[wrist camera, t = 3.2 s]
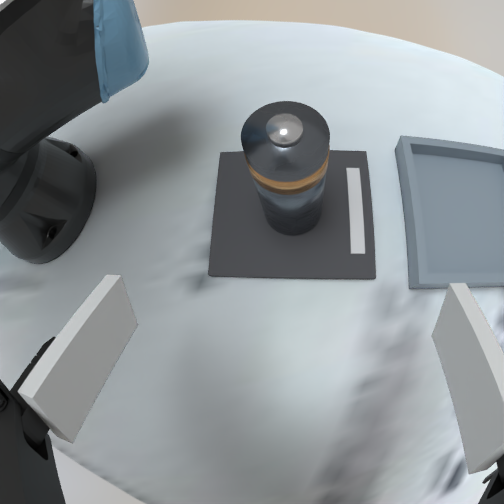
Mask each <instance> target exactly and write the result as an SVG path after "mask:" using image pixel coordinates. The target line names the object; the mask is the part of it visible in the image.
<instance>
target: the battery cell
mask: <svg viewBox="0 0 504 504" xmlns="http://www.w3.org/2000/svg"><path fill="white" fill-rule="evenodd" d="M329 140H330V132H329V128H328V125H327V123H326V121H325V119H324V118H323V117H322V116H321V115H320V113H318V112H317V111H316V110H315V109H313V108H311V107H309V106H307V105H305V104H302V103H298V102H291V101H281V102H275V103H271V104H268V105H265V106H263V107H261V108H259V109H258V110H256V111H255V112H254V113H253V114H251V115H250V117H249V118H248V119H247V120H246V122H245V124H244V126H243V128H242V132H241V143H242V147H243V150H244V155H245V158H246V161H247V164H248V167H249V170H250V173H251V175H252V177H253V180H254V183H255V186H256V189H257V192H258V196H259V199H260V202H261V205H262V208H263V211H264V214H265V217H266V220H267V222H268V223H269V225H270V226H271V227H272V228H273V229H274V230H276V231H277V232H279V233H281V234H284V235H288V236H297V235H302V234H304V233H307V232H308V231H310V230H311V229H313V228H314V227H315V226H316V224H317V223H318V221H319V219H320V216H321V212H322V204H323V196H324V188H325V179H326V170H327V166H328V159H329Z"/></svg>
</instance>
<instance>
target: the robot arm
mask: <svg viewBox="0 0 504 504" xmlns="http://www.w3.org/2000/svg"><path fill="white" fill-rule="evenodd" d="M148 64H149V56H148V50H147V46H146V42H145V39H144V35H143V31H142V28H141V24H140V21H139V18H138V15H137V11H136V8H135V4H134V1H133V0H0V242H1V243H2V244H3V245H4V246H5V247H6V248H7V249H8V250H9V251H10V252H11V253H12V254H13V255H15V256H16V257H18V258H20V259H23V260H25V261H28V262H31V263H36V264H40V263H46V262H49V261H51V260H53V259H55V258H56V257H58V256H59V255H60V254H62V253H63V252H64V251H65V250H66V249H67V248H68V247H69V246H70V245H71V244H72V243H73V241H74V240H75V239H76V237H77V236H78V234H79V233H80V231H81V230H82V228H83V226H84V224H85V222H86V220H87V218H88V216H89V213H90V211H91V208H92V204H93V201H94V196H95V190H96V174H95V169H94V166H93V164H92V162H91V160H90V159H89V158H88V156H86V155H85V154H84V153H83V152H82V151H81V150H80V149H79V148H78V147H76V146H74V145H73V144H70V143H67V142H64V141H61V140H58V139H55V138H51V137H48V136H49V135H50V134H51V133H53V132H54V131H56V130H57V129H59V128H60V127H62V126H63V125H65V124H66V123H68V122H69V121H71V120H72V119H74V118H75V117H77V116H79V115H80V114H82V113H83V112H85V111H87V110H88V109H90V108H92V107H93V106H95V105H97V104H98V103H100V102H102V103H106V102H107V101H109V98H110V97H111V96H113V95H114V94H116V93H118V92H119V91H121V90H123V89H125V88H126V87H128V86H130V85H132V84H133V83H135V82H137V81H138V80H139V79H140V78H141V77H142V76H143V75H144V74H145V72H146V70H147V68H148ZM137 326H138V323H137V320H136V317H135V315H134V312H133V309H132V306H131V303H130V301H129V298H128V295H127V292H126V289H125V286H124V283H123V280H122V277H121V275H106V276H105V277H104V278H103V279H102V281H101V282H100V283H99V284H98V285H97V287H96V288H95V289H94V290H93V291H92V293H91V294H90V295H89V296H88V297H87V299H86V300H85V301H84V302H83V304H82V305H81V306H80V307H79V309H78V310H77V311H76V312H75V314H74V315H73V316H72V317H71V319H70V320H69V321H68V322H67V324H66V325H65V326H64V328H63V329H62V330H61V332H60V333H59V334H58V335H57V337H53V338H51V339H50V340H49V341H47V342H46V343H45V344H44V345H43V346H42V347H41V349H40V350H39V351H38V353H37V356H35V357H34V358H33V359H32V361H31V364H29V365H28V366H27V368H26V369H25V371H24V372H23V373H22V375H21V376H20V378H19V379H18V380H17V382H16V383H15V385H14V386H13V388H12V389H11V390H10V391H9V390H8V389H7V387H6V386H5V385H4V384H3V382H2V381H1V380H0V504H66V503H65V499H64V496H63V492H62V489H61V485H60V481H59V477H58V473H57V468H56V464H55V459H54V455H53V450H52V444H51V439H50V437H49V435H48V434H47V433H48V431H49V429H51V430H52V432H53V433H54V434H55V435H56V436H57V437H59V438H61V439H64V440H66V441H68V442H71V443H73V442H74V440H75V438H76V436H77V434H78V432H79V430H80V428H81V427H82V425H83V423H84V421H85V419H86V417H87V415H88V413H89V411H90V409H91V408H92V406H93V404H94V402H95V400H96V398H97V396H98V394H99V393H100V391H101V389H102V387H103V385H104V384H105V382H106V380H107V378H108V376H109V375H110V373H111V371H112V369H113V367H114V366H115V364H116V362H117V360H118V359H119V357H120V355H121V353H122V352H123V350H124V348H125V346H126V345H127V343H128V341H129V340H130V338H131V336H132V334H133V333H134V331H135V329H136V328H137ZM432 338H433V341H434V343H435V346H436V349H437V352H438V355H439V358H440V361H441V364H442V368H443V371H444V374H445V377H446V381H447V384H448V387H449V391H450V394H451V398H452V402H453V405H454V409H455V413H456V417H457V421H458V425H459V429H460V433H461V438H462V442H463V447H464V452H465V457H466V462H467V468H468V473H469V474H473V473H476V472H480V471H483V470H487V469H488V468H489V467H491V466H492V465H493V464H494V463H495V462H497V466H498V468H497V469H496V470H495V471H494V472H492V473H491V474H490V475H489V476H487V477H486V478H485V479H484V481H483V482H482V483H484V484H485V483H486V482H487V481H489V480H490V479H491V480H490V482H489V484H488V486H487V488H486V490H485V492H484V494H483V495H482V497H481V499H480V501H479V503H478V504H504V353H503V351H502V349H501V347H500V345H499V343H498V341H497V339H496V337H495V335H494V333H493V331H492V329H491V327H490V325H489V323H488V322H487V320H486V318H485V316H484V314H483V312H482V311H481V309H480V307H479V305H478V303H477V302H476V300H475V298H474V296H473V295H472V293H471V291H470V290H469V288H468V286H467V285H466V283H449V287H448V290H447V293H446V296H445V299H444V302H443V305H442V308H441V311H440V314H439V317H438V320H437V323H436V325H435V328H434V331H433V333H432Z"/></svg>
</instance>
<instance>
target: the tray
mask: <svg viewBox="0 0 504 504" xmlns="http://www.w3.org/2000/svg"><path fill="white" fill-rule="evenodd" d="M395 153H396V159H397V165H398V171H399V177H400V184H401V192H402V199H403V208H404V217H405V226H406V238H407V251H408V267H409V289H416V288H448V287H449V283H466V285H467V286H468V287H496V286H504V150H502V149H497V148H492V147H486V146H480V145H474V144H468V143H461V142H454V141H446V140H438V139H430V138H421V137H411V136H400V139H399V141H398V144H397V146H396V148H395Z"/></svg>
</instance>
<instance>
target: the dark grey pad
mask: <svg viewBox="0 0 504 504" xmlns="http://www.w3.org/2000/svg"><path fill="white" fill-rule="evenodd" d="M208 275H209V276H219V277H253V278H299V279H375V278H376V269H375V244H374V227H373V213H372V201H371V190H370V180H369V171H368V163H367V155H366V151H338V150H329V159H328V166H327V170H326V179H325V188H324V196H323V204H322V212H321V216H320V219H319V221H318V223H317V224H316V226H315V227H314V228H313V229H311V230H310V231H308V232H307V233H304V234H302V235H297V236H288V235H284V234H281V233H279V232H277V231H276V230H274V229H273V228H272V227H271V226H270V225H269V223H268V222H267V220H266V217H265V214H264V211H263V208H262V205H261V202H260V199H259V196H258V192H257V189H256V186H255V183H254V180H253V177H252V175H251V173H250V170H249V167H248V164H247V161H246V158H245V155H244V151H240V152H221V153H220V160H219V169H218V178H217V187H216V196H215V206H214V216H213V226H212V236H211V247H210V258H209V270H208Z"/></svg>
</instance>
